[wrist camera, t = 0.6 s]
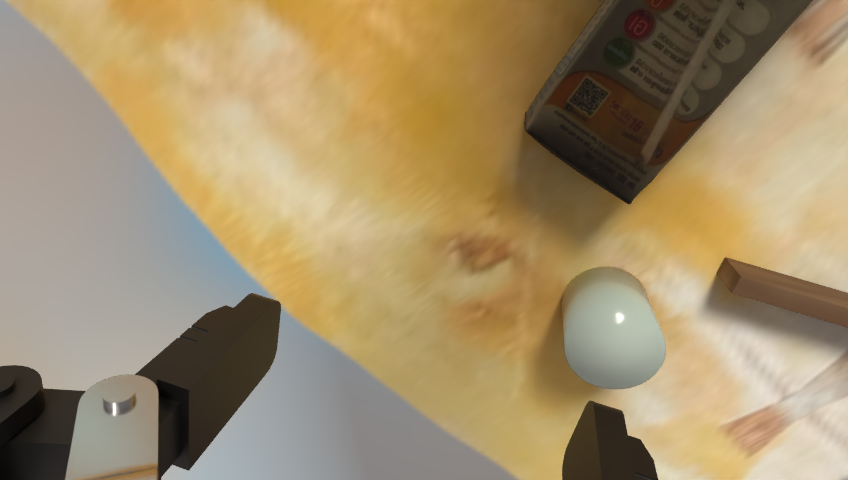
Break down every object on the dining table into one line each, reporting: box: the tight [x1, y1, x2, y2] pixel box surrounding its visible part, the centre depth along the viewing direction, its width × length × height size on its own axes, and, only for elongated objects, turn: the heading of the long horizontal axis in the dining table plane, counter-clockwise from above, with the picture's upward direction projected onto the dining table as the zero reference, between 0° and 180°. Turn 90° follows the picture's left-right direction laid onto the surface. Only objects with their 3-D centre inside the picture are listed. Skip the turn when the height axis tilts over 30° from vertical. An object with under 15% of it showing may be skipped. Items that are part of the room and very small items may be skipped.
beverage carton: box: [525, 0, 813, 204], centre depth 27 cm, size 8×19×7 cm, turn 148°
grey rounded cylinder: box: [562, 267, 666, 389], centre depth 35 cm, size 6×6×6 cm
